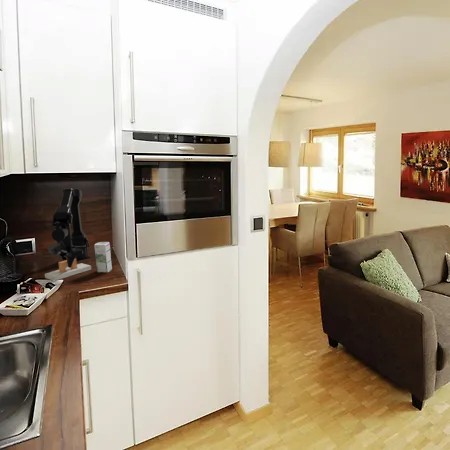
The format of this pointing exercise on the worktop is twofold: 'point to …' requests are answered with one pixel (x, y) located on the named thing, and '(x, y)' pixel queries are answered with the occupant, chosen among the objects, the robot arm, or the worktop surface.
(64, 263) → the clip
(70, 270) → the rail
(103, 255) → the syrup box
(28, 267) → the worktop surface
